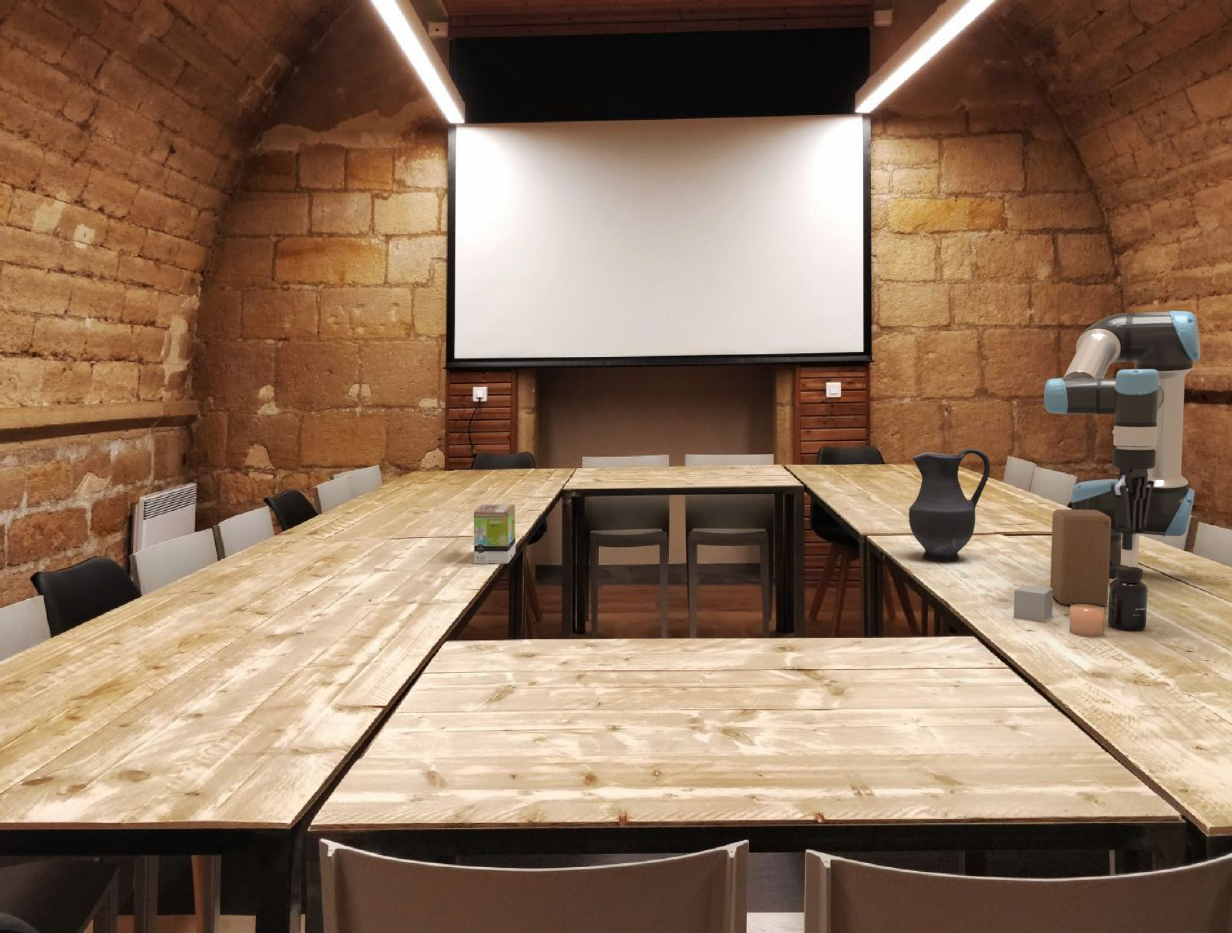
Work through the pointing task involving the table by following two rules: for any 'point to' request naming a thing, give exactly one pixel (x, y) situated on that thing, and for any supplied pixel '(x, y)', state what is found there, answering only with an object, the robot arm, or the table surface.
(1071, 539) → the wooden block
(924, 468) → the pitcher
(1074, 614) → the terracotta puck
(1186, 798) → the table surface
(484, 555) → the tea box
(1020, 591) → the grey cube
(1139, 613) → the supplement bottle
